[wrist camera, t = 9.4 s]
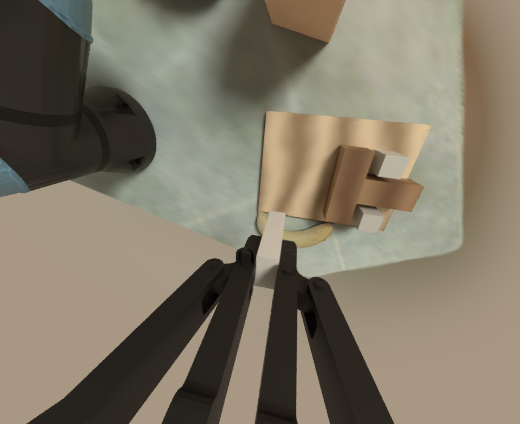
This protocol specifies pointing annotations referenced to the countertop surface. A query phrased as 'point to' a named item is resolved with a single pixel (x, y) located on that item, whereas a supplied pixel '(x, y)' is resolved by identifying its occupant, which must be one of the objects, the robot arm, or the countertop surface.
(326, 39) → the pump bottle
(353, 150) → the tee
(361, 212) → the posts
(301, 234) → the fruit
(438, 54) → the countertop surface
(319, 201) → the board
